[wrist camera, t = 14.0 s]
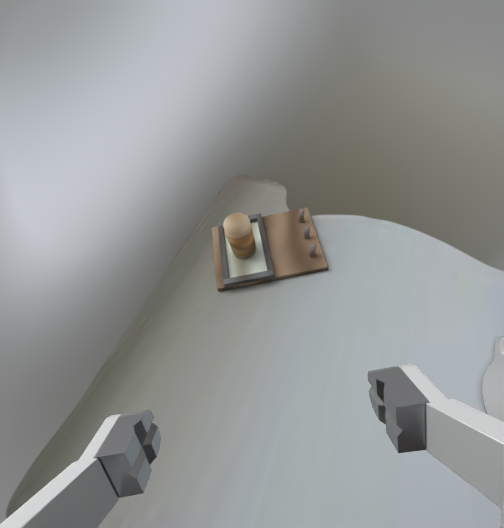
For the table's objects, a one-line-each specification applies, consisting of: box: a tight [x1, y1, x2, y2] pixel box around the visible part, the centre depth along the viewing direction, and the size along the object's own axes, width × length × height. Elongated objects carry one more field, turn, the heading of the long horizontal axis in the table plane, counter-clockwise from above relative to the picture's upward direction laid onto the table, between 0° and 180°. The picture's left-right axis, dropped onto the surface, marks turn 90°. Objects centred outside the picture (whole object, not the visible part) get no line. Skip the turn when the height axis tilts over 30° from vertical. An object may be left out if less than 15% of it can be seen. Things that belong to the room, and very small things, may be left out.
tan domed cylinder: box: [223, 213, 256, 259], centre depth 42 cm, size 5×5×8 cm
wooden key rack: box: [212, 208, 328, 291], centre depth 45 cm, size 20×14×4 cm
